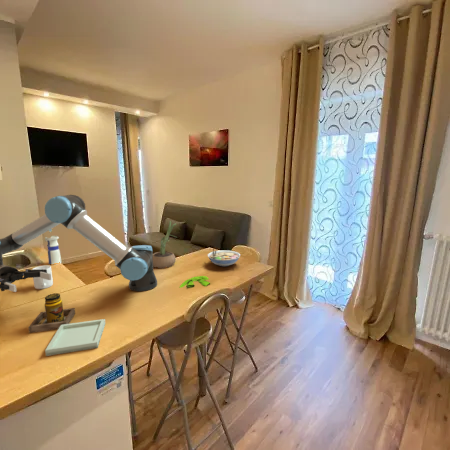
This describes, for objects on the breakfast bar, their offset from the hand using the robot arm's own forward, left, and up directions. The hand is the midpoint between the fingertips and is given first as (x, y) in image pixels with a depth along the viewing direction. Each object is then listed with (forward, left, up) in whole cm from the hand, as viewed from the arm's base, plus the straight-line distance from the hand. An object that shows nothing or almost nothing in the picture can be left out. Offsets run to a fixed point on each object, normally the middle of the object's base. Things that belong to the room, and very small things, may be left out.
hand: (33, 282), depth 109 cm
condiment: (-8, +6, -16) cm, 19 cm away
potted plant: (-58, -58, -16) cm, 83 cm away
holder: (-8, +6, -16) cm, 19 cm away
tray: (-21, +21, -16) cm, 34 cm away
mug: (+10, -36, -16) cm, 41 cm away
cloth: (-72, -18, -17) cm, 76 cm away
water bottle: (+19, -81, -16) cm, 85 cm away
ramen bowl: (-96, -45, -16) cm, 107 cm away
